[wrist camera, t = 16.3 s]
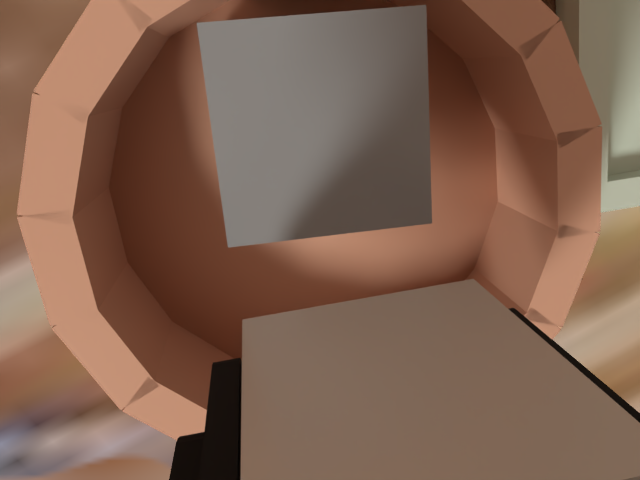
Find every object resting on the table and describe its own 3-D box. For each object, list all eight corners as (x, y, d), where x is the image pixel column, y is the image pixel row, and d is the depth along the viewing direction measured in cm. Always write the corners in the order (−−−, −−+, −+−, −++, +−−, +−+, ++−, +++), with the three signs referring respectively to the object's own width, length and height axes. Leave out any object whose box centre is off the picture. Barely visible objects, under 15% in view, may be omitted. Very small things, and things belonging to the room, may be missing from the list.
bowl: (18, -23, 15) (-68, -60, 11) (514, -82, 17) (606, -137, 12) (137, 419, 20) (107, 514, 15) (524, 346, 21) (596, 415, 17)
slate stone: (212, 40, 16) (196, 22, 11) (368, 27, 16) (426, 4, 11) (233, 195, 17) (228, 247, 12) (376, 179, 18) (432, 223, 12)
